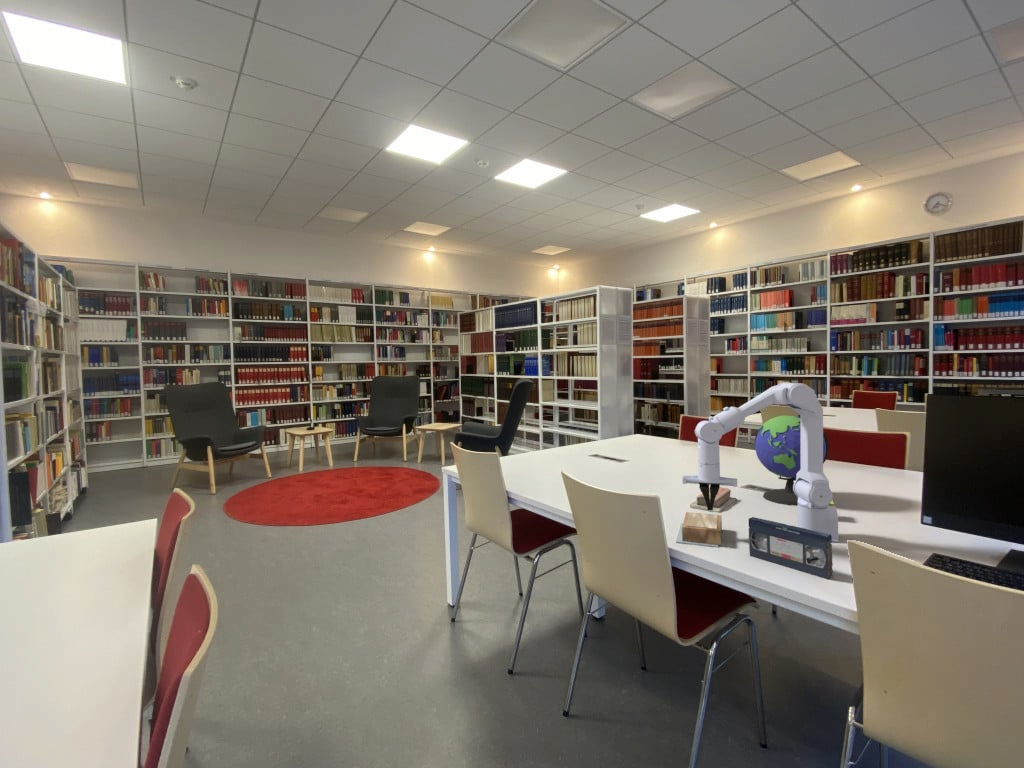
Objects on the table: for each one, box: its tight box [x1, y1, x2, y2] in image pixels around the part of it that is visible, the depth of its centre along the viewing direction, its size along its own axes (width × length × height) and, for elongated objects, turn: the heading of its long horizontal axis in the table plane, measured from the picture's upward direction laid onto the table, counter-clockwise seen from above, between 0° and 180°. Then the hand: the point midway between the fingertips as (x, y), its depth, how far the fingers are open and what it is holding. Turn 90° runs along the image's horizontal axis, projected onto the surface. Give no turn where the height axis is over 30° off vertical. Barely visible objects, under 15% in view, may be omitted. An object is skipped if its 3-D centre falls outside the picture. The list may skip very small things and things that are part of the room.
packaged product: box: [689, 486, 737, 514], centre depth 167 cm, size 18×5×10 cm
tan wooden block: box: [682, 511, 723, 546], centre depth 138 cm, size 4×14×10 cm
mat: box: [675, 522, 720, 548], centre depth 138 cm, size 11×16×1 cm
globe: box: [753, 414, 830, 507], centre depth 169 cm, size 22×22×30 cm
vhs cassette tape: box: [748, 516, 834, 580], centre depth 116 cm, size 18×3×10 cm, turn 35°
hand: (710, 509), depth 137 cm, fingers closed
